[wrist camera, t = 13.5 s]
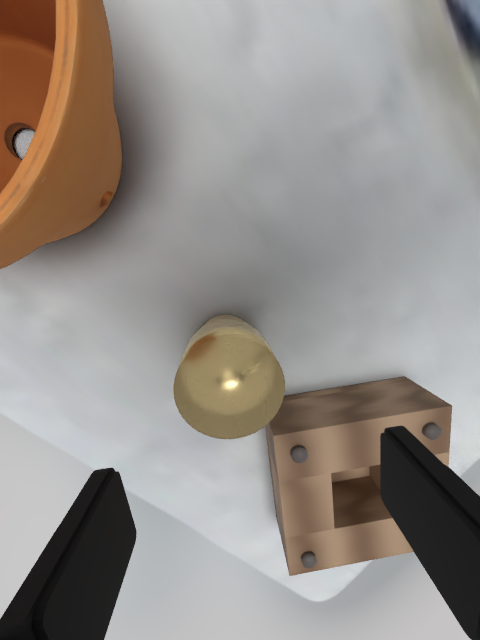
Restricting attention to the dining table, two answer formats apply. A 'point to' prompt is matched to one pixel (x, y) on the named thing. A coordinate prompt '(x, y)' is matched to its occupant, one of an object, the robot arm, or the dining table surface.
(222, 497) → the dining table surface
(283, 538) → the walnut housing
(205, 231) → the dining table surface
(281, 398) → the yellow translucent cylinder
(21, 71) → the flower pot
